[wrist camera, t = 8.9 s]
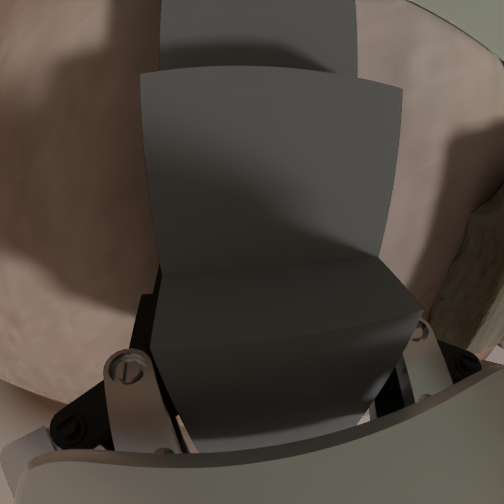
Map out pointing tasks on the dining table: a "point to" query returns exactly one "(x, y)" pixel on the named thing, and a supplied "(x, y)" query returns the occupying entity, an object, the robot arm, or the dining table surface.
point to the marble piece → (475, 284)
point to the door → (473, 19)
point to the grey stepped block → (271, 221)
